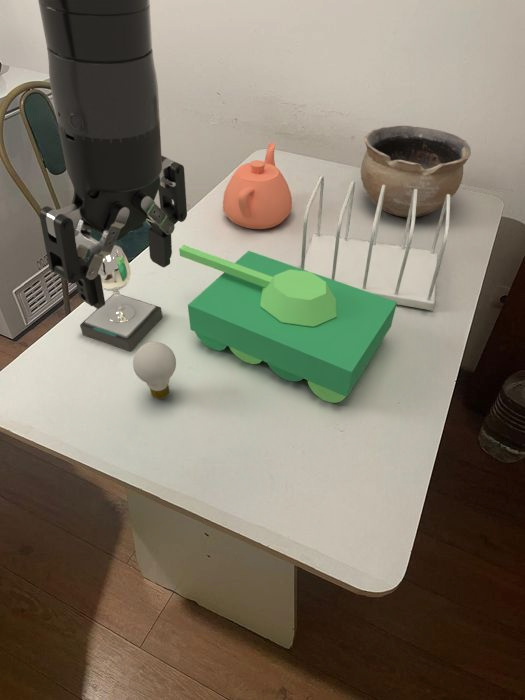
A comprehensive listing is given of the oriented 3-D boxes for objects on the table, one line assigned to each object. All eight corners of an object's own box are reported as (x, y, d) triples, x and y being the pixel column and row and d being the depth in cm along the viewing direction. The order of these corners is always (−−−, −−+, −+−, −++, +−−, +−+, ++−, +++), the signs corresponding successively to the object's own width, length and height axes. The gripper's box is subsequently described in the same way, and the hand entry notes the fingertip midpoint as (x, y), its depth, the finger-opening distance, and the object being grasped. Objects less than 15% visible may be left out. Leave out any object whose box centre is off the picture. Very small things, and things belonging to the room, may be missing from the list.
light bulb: (136, 387, 78) (125, 339, 71) (174, 376, 79) (167, 328, 72) (146, 416, 74) (135, 368, 67) (185, 404, 76) (179, 356, 69)
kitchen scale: (130, 351, 83) (127, 339, 81) (82, 334, 86) (78, 322, 84) (162, 316, 90) (160, 304, 88) (117, 302, 92) (114, 290, 90)
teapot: (242, 187, 124) (241, 136, 116) (303, 197, 121) (306, 145, 113) (209, 233, 109) (205, 178, 101) (277, 245, 106) (279, 190, 98)
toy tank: (210, 219, 90) (402, 282, 77) (214, 276, 98) (387, 342, 86) (144, 269, 79) (355, 352, 66) (154, 328, 87) (343, 412, 75)
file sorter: (435, 259, 103) (457, 186, 92) (432, 313, 91) (456, 236, 80) (313, 239, 108) (320, 168, 97) (294, 288, 96) (300, 213, 85)
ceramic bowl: (350, 224, 113) (360, 157, 102) (358, 180, 128) (368, 118, 117) (454, 237, 109) (475, 169, 99) (450, 190, 125) (468, 127, 114)
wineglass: (142, 319, 85) (130, 258, 76) (107, 329, 83) (91, 267, 75) (134, 299, 89) (121, 239, 80) (100, 308, 87) (84, 247, 78)
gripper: (142, 77, 44) (153, 237, 56) (-8, 123, 36) (42, 300, 47) (208, 104, 42) (206, 266, 53) (63, 160, 33) (98, 338, 45)
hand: (129, 282), depth 50 cm, fingers open, 8 cm apart
